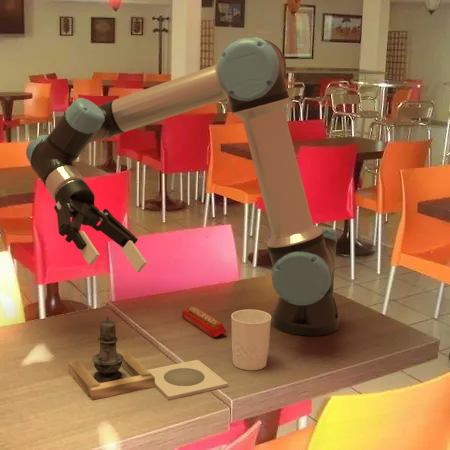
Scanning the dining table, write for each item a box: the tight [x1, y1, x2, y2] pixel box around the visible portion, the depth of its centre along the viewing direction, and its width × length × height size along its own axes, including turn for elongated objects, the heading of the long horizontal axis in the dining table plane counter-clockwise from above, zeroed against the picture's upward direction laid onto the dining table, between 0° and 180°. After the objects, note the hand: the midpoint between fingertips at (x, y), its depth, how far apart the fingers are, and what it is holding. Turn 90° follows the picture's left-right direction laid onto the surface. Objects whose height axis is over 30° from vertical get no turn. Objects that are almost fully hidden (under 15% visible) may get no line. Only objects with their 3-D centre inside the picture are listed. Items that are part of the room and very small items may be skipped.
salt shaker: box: [91, 315, 124, 383], centre depth 134 cm, size 6×6×12 cm
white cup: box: [230, 308, 273, 371], centre depth 142 cm, size 8×8×10 cm
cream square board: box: [147, 359, 229, 401], centre depth 135 cm, size 12×12×1 cm
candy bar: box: [181, 305, 227, 338], centre depth 162 cm, size 16×4×3 cm, turn 31°
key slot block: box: [68, 351, 155, 401], centre depth 134 cm, size 12×13×2 cm
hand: (119, 263), depth 139 cm, fingers open, 13 cm apart
